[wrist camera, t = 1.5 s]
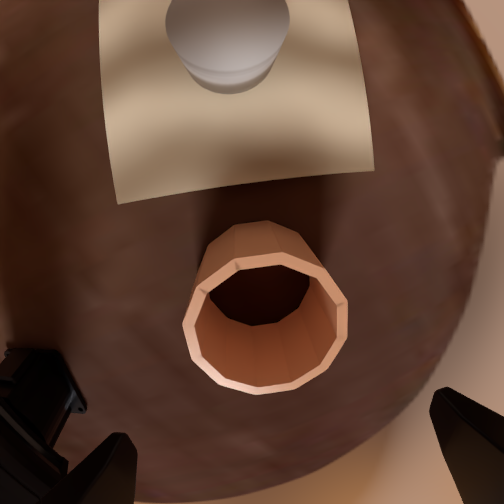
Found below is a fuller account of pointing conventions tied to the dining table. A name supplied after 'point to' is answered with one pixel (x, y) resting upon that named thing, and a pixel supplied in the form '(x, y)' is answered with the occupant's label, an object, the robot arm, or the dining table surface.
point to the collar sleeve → (268, 335)
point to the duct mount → (230, 93)
